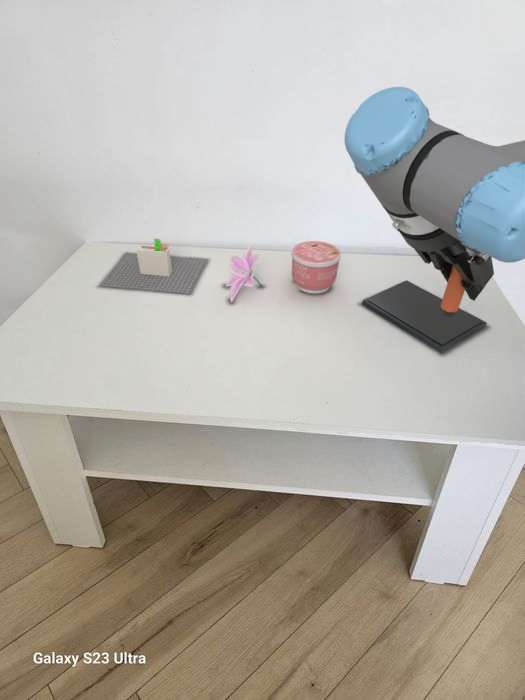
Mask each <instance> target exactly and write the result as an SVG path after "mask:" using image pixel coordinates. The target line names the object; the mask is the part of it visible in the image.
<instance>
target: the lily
mask: <svg viewBox="0 0 525 700" xmlns="http://www.w3.org/2000/svg"><path fill="white" fill-rule="evenodd" d="M252 252H253V243H251V244H250V245H249V246H248V247H247V249H246V251H245V253H244V255H243V256H241V255H237V254H234V255H233V254H232V255H231V256H230V259H229V265H230V271H231V273H232V274H231V276H230V277H229V278H228V280H227V282H226V284H225V287H231V288H230V302H231V303H233V302H234V300H235V298H236V296H237V294H238V292H239V291H240V289H241V288H242V287H243V285H244V286H246V287H250V288H253V287H254V285H255V283H254V280H255V281H256V282H257V283H258V285H259V287H261V288H263V285H262V284H261V282H260V281H259V280H258V278H257V277H255V276H254V275H253V268H254V267H255V265H256V264H257V262H258V261H259V260H260V258H261V257H262V255H263V253H262V252H256V253H253V254H252Z"/></svg>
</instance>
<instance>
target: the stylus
mask: <svg viewBox="0 0 525 700" xmlns="http://www.w3.org/2000/svg"><path fill="white" fill-rule="evenodd" d="M462 279H463V278H462V277H461V275H460V274H459V273H458V271H457V270H456V268H455V267H454V266H453V267H452V270H451V273H450V276H449V280H448V283H447V282H446V286H445V289H444V292H443V296H442V298H441V299H442V302H441V310H440V312H441V314H442V315H444V316H447V317H453V316H454V315H455V313H456V311H458V309H459V308H460V305H461V302H462V300H463V297H464V294H465V292H466V291H465V288H463V287H462V283H461V281H462Z"/></svg>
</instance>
